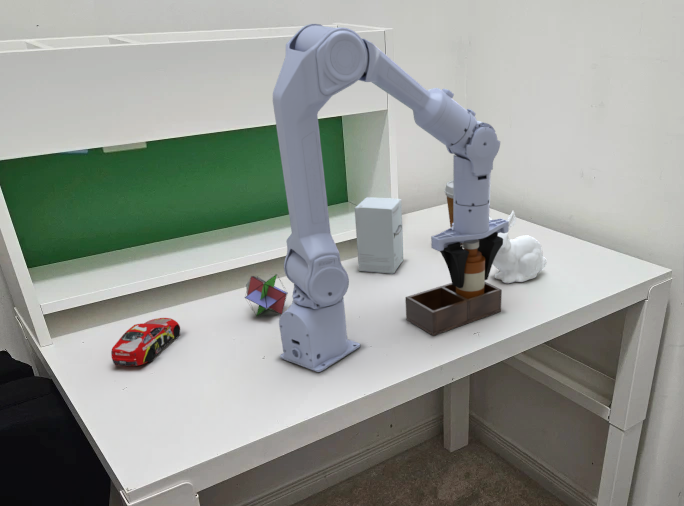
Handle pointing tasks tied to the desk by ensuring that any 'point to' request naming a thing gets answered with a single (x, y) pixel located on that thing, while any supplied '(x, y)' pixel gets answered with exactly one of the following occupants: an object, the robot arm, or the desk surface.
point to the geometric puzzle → (265, 294)
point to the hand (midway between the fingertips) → (470, 281)
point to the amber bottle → (473, 271)
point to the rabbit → (518, 257)
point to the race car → (144, 341)
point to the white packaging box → (379, 234)
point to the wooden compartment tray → (450, 308)
